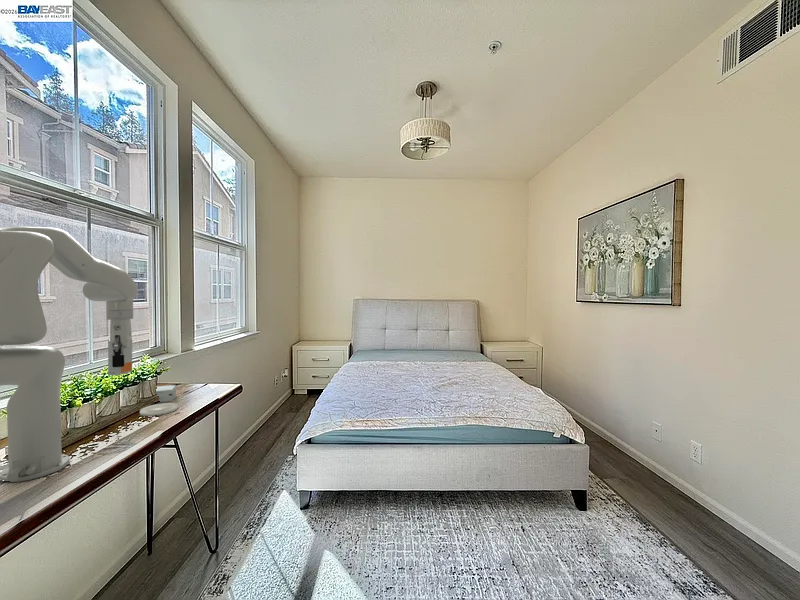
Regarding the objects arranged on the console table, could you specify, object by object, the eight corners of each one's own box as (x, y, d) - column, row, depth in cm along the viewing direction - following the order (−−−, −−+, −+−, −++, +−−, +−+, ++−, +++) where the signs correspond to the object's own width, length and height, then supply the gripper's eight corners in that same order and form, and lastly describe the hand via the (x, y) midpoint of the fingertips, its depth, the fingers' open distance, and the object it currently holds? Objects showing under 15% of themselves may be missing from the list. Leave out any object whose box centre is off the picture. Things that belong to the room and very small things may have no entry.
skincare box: (119, 375, 125) (119, 341, 125) (107, 375, 125) (107, 341, 125) (133, 371, 131) (132, 338, 131) (121, 371, 131) (121, 338, 131)
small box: (150, 403, 144) (149, 391, 144) (155, 398, 152) (155, 386, 152) (172, 401, 147) (172, 389, 147) (176, 396, 155) (176, 384, 154)
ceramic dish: (177, 413, 134) (177, 410, 134) (137, 418, 128) (137, 415, 128) (178, 403, 144) (178, 401, 144) (142, 408, 138) (142, 405, 138)
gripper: (129, 316, 122) (129, 368, 122) (136, 313, 137) (137, 359, 137) (100, 316, 118) (101, 370, 118) (112, 314, 133) (112, 361, 134)
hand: (120, 364), depth 128 cm, fingers closed on skincare box, 7 cm apart
